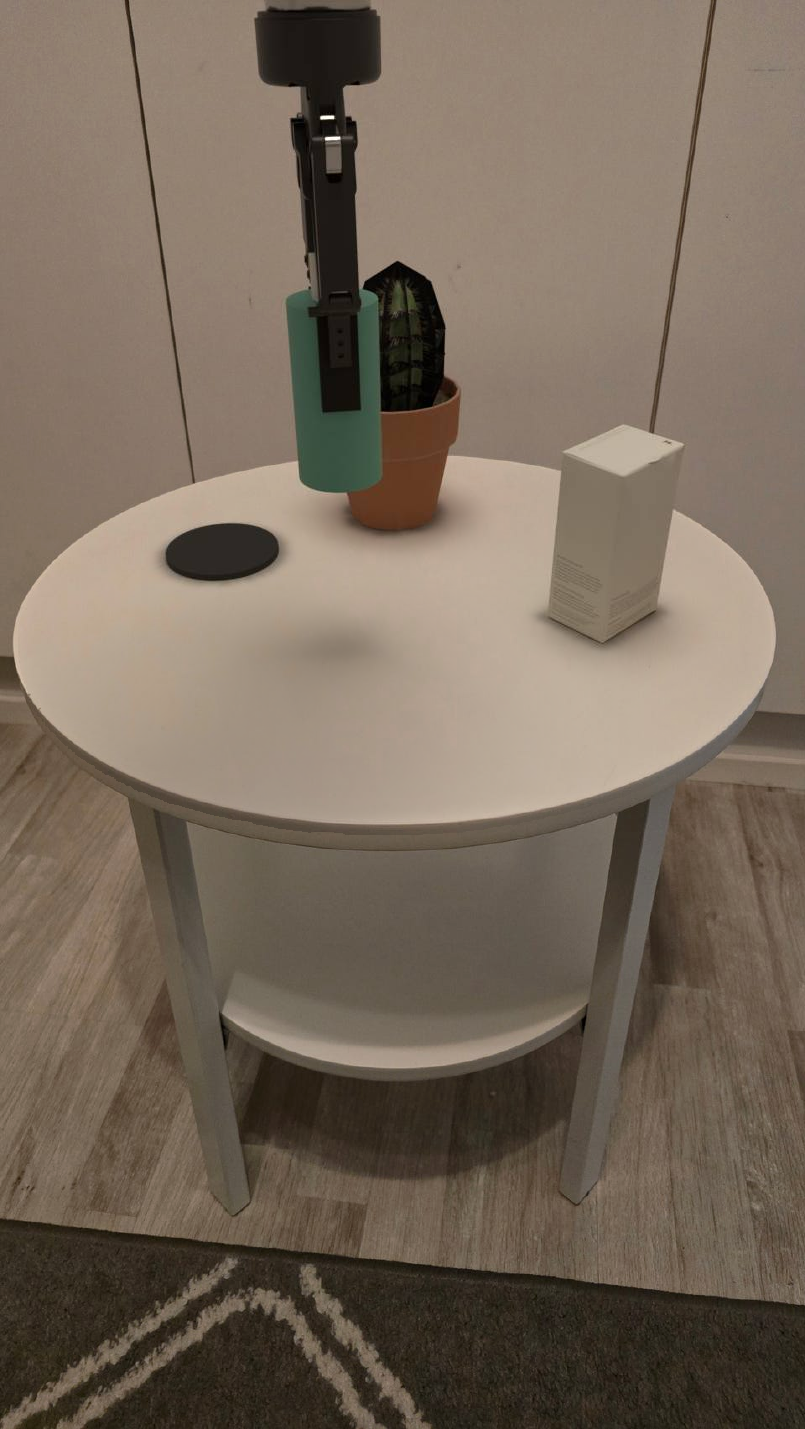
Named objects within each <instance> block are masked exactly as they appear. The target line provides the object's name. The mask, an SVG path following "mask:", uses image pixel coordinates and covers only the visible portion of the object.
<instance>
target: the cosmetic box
mask: <svg viewBox="0 0 805 1429" xmlns="http://www.w3.org/2000/svg"><path fill="white" fill-rule="evenodd" d="M684 450H685V444H684V443H683V442H680V441H677V440H673V439H670V438H667V437H664V436H661V435H658V434H654V433H651V432H648V431H646V430H643V429H641V428H637V427H634V426H631V425H628V424H623V423H622V424H621V425H618V426H617V427H614V428H612V429H610V430H608V431H605V432H603V433H601V434H599V435H597V436H594V437H592V438H590V439H588V440H585V441H583V442H581V443H579V444H577V445H574V446H572V447H570V448H568V449H565V450H563V451H562V458H561V470H560V481H559V491H558V501H557V502H558V503H557V513H556V522H555V523H556V524H555V534H554V545H553V555H552V563H551V564H552V565H551V566H552V567H551V577H550V585H549V596H548V597H549V598H548V607H547V616H548V618H550V619H552V620H554V621H556V622H558V623H559V624H562V625H564V626H566V627H568V628H570V629H572V630H574V631H575V632H578V633H580V634H583V635H585V636H587V637H589V638H590V639H592V640H595V641H596V642H599V643H601V644H602V643H603V644H604V643H605V642H606V641H608V640H610V639H612V638H613V637H614V636H616V635H618V634H619V633H620V632H622V631H624V630H625V629H627V628H629V627H630V626H632V625H633V624H635V623H636V622H639V621H640V620H641V619H643V618H645V617H646V616H648V615H649V614H651V613H653V612H654V611H656V610H657V609H658V601H659V597H660V596H659V595H660V590H661V589H660V588H661V583H662V576H663V572H664V566H665V559H666V553H667V547H668V541H669V535H670V529H671V523H672V520H673V519H672V518H673V514H674V513H673V512H674V507H675V501H676V495H677V488H678V484H679V483H678V482H679V476H680V472H681V467H682V461H683V460H682V459H683V455H684Z"/></svg>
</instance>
